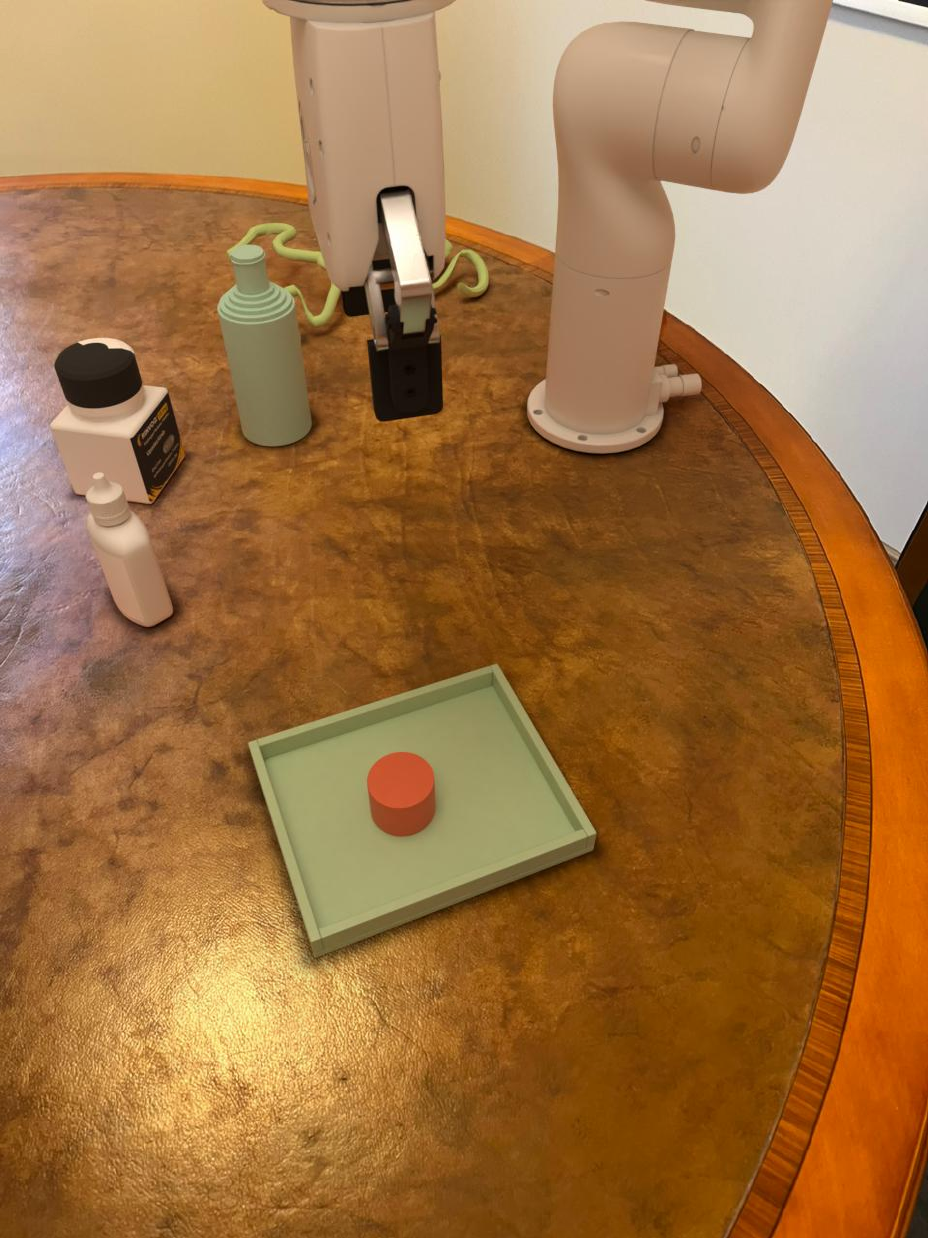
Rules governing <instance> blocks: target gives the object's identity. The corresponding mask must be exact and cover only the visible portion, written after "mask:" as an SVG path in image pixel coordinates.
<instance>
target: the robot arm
mask: <svg viewBox="0 0 928 1238" xmlns="http://www.w3.org/2000/svg"><path fill="white" fill-rule="evenodd" d="M261 1H262V4H263V5H264V6H265V7H266V8H268V9H269V10H273V11H274V12H276V13H277V14H279V15H283V16H286V17H289V25H290V27H289V28H290V41H291V52H292V53H291V54H292V65H293V74H294V84H295V93H296V100H297V101H296V102H297V111H298V117H299V126H300V135H301V145H302V151H303V161H304V171H305V182H306V193H307V201H308V208H309V212H310V217H311V222H312V225H313V229H314V233H315V236H316V240H317V244H318V247H319V250H320V251H321V254H322V257H323V260H324V264H325V267H326V270H327V271H326V270H325V271H326V273H327V276H328V278H329V281H330V283H331V282H332V283H333V284H334V285H335V286H336V287H337V288H339V289H340V290H341V293H340V297H341V307H342V310H343V312H344V315H345V316H347V317H350V318H353V317H362V316H369V319H370V326H371V332H372V338H371V339H366V346H367V355H368V366H369V376H370V386H371V387H370V388H371V397H372V407H373V413H374V416H375V419H376V420H377V421H379V422H381V423H382V422H383V423H386V422H391V421H392V422H393V421H397V420H398V421H399V420H405V419H412V418H418V417H426V416H433V415H437V414H439V413H441V412H442V411H443V409H444V389H443V388H444V387H443V358H442V357H443V355H442V353H443V352H442V335H441V331H440V323H439V318H438V317H439V316H438V311H437V304H436V298H435V293H434V292H435V291H433V285H432V284H433V281H435V280H436V279H437V278H438V277H439V276H440V274H441V273H442V272H443V270H444V268H445V263H446V258H445V243H446V239H447V236H446V232H447V231H446V227H447V226H446V223H447V222H446V185H445V183H446V182H445V161H444V159H445V158H444V136H443V135H444V134H443V116H442V113H443V112H442V100H441V99H442V98H441V80H442V79H441V78H442V73H441V70H440V66H439V52H438V37H437V22H436V20H437V19H436V12H437V11H440V10H442V9H444V8H446V7H449V6H451V5H452V4H453V3H455V2H456V1H457V0H261ZM645 1H646V2H651V3H656V4H662V5H668V6H674V7H675V6H676V7H681V8H691V9H698V10H699V9H700V10H707V11H715V12H724V13H731V14H740V15H744V16H746V17H747V18H749V19H750V20H751V22H752V24H753V28H752V34H751V37H749V36H739V35H734V34H726V33H725V34H724V33H717V32H709V31H702V30H695V29H693V28H686V27H678V26H671V25H663V24H655V23H647V22H638V21H611V22H603V23H598V24H596V25H593V26H591V27H588V28H587V29H585V30H583V31H581V32H580V33H578V35H576V36H575V37H574V38H573V39H572V40H570V42H569V43H568V44H567V46H566V48H565V49H564V50H563V53H562V55H561V56H560V60H559V62H558V64H557V66H556V72H555V76H554V81H553V91H552V117H553V119H552V120H553V128H554V138H555V148H556V149H555V150H556V161H557V182H558V183H557V184H558V187H557V188H558V189H557V216H556V217H557V219H556V234H555V246H554V247H555V248H554V251H555V252H554V264H553V276H552V277H553V278H552V289H551V290H552V291H551V305H550V317H549V318H550V319H549V333H548V343H547V344H548V345H547V360H546V374H545V378H544V379H543V380H542V381H540V382H539V383H537V384H536V385H535V386H534V387H533V389H531V391H530V393H529V395H528V397H527V403H526V417H527V419H528V421H529V424H530V425H531V426H532V428H533V429H534V431H536V432H537V433H538V434H539V435H540V436H541V437H542V438H544V439H545V440H547V441H549V442H551V443H552V444H553V445H557V446H559V447H562V448H564V449H567V450H571V451H575V452H581V453H586V454H587V453H588V454H600V455H601V454H602V455H603V454H616V453H621V452H626V451H631V450H632V449H633V450H634V449H636V448H638V447H641V446H642V445H644V444H646V443H648V442H649V441H651V440H652V439H653V438H654V437H655V436H657V434H658V433H659V431H660V429H661V427H662V424H663V420H664V414H665V413H664V412H665V409H664V405H663V403H668V401H669V399H670V398H676V397H679V398H681V397H688V396H698V395H700V394H701V392H702V388H703V387H702V385H703V384H702V383H703V382H702V378H701V376H700V374H699V373H697V372H696V373H688V374H680V375H678V374H679V369H678V365H677V364H675V363H671V364H663V365H661V366H655V364H656V359H657V352H658V346H659V341H660V334H661V330H662V329H661V328H662V323H663V317H664V311H665V304H666V299H667V293H668V288H669V286H668V285H669V281H670V275H671V268H672V262H673V256H674V250H675V244H676V224H675V217H674V213H673V210H672V206H671V203H670V200H669V198H668V196H667V193H666V191H665V189H664V186H663V184H662V182H667V183H672V184H679V185H682V186H687V187H688V186H689V187H695V188H700V189H705V190H711V191H718V192H721V193H722V192H723V193H729V194H737V195H745V194H753V193H758V192H760V191H762V190H765V189H766V188H767V187H768V186H770V185H771V184H772V183H773V182H774V181H775V180H776V178H777V177H778V175H779V174H780V172H781V170H782V168H783V167H784V165H785V163H786V160H787V158H788V156H789V154H790V150H791V147H792V145H793V142H794V140H795V136H796V132H797V130H798V126H799V122H800V119H801V116H802V113H803V109H804V105H805V102H806V98H807V96H808V95H807V94H808V91H809V87H810V84H811V80H812V77H813V73H814V69H815V66H816V62H817V59H818V56H819V52H820V48H821V45H822V41H823V38H824V34H825V30H826V28H827V24H828V20H829V17H830V15H831V14H830V13H831V11H832V7H833V3H834V0H645Z"/></svg>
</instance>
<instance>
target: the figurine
mask: <svg viewBox="0 0 928 1238" xmlns="http://www.w3.org/2000/svg"><path fill="white" fill-rule="evenodd" d="M267 235H276V236H275V237H274V238H273V240H272V242H271V243H272V244H271V246H272V248H273V251H274V252H275V254H276V255H277V256H278V257H279V258H282V259H286V260H289V261H297V262H305V263H313V264H317V265H318V266H319V267H320V268H321V269H323V270H324V271H326V272H327V270H326V267H325V264H324V260H323V257H322V254H321V250H320V251H319V250H318V251H313V250H306V249H300V248H299V249H298V248H291V247H287V246H284V245H286V244H287V243H289V242H291V241H293V240H295V239H296V238H297V235H298V232H297V229H296V228H295V227H294V226H293V225H290V224H288V223H285V222H284V223H282V222H271V223H269V222H267V223H261V224H258V225H255V226H252V227H250V229H249V230H247V233H246V234H245V235H244V236H243V237H242V238H241V239H240V240H239V241H238V242H237V243H236V244H235V245H233V246H232V247H230V248H229V249H227V250H226V251H225V257H226V260H227V262H229V263H231V257H230V252H231V251H232V250H233V249H234V248H236V247H238V246H242V245H253V243H254V242H255V240H256V239H257V238H260V237H264V236H267ZM453 250H454V246H453V245H452V243H451V242H450V241H449V240H448V239H447V238H446V243H445V259H446V258H447V257H448V256H449V255H450V254H451V253H452V251H453ZM458 258H465V259H466V260H467V261H469V262H470V263H471V264H472V265H473V266H474V268H475V270H476V272H477V277H478V278H477V279H478V281H477V285H476V286H474V287H471V286H468V285H466V284H465V283H463V282H461V281H460V282H458V283H457V285H456V287H457V290H458V291H459V292H460V293H461V294H462V295H464V296H465V297H468V298H478V297H480V296H482V295H483V294H484V293H485V292H486V291H487V289H488V288H489V283H490V281H489V280H490V279H489V271H488V267H487V264H486V263H485V260H483V258H482V257H481V256H480V255H479V254H478V253H477V252H476V251H474V250H472V249H462V250H461V251H459V252H458V253H457V254H455V256H453V258H452V259H451V261H450V262H449V264H448V266H447V267H446V269H445V271H444V273H442V275H441V276H440V277H439V279H437V281H436V282H434V283H432V285H433V292H435V291H436V290H439V288H441V287H442V286H443V284H444V283H446V282H447V280H448V279H449V278H450V276H451V274H452V272H453V271H454V268H455V266H456V263H457V262H458V261H457V260H458ZM283 288H284V289H286V290H287V291H288V292H289V293H290V294H291V295H292V296H293V297H297V296H298V297H299V299H300V301H301V302H302V306H303V311H304V314H305V317H306V321H307V322H308V323H309V324H311V325H312V326H313V327H314V328H315V329H318V328H321V327H325V326H327V325H328V323H329V322H330V321H331V319H332V318H333V316H334V313H335V311H336V308H337V305H338V301H339V298H340V297H341V290H340V289H339V288H337V287H336V286H335V285H334V284H333V283H332V282H331V281H330V288H329V291H328V294H327V297H326V300H325V303H324V307H323V309H322V311H321V313H320V314H318V315H313V314H312V312H311V311H310V310H309V309H308V306H307V303H306V301H305V298H304V297H303V294H302V292H301V290H300V289H299V288H298V287H297V286H296V285H295V284H291V285H287V286H285V287H283ZM299 334H300V341H301V340H302V336H301V332H300V331H299Z"/></svg>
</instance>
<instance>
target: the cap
mask: <svg viewBox="0 0 928 1238" xmlns="http://www.w3.org/2000/svg"><path fill="white" fill-rule="evenodd" d="M367 787H368V795H369V802H370V810H371V816H372V819H373V821H374V823H375V824H376V825H377V827H378V828H380V829H381V830H382V831H384V832H385V833H387V834H390V835H393V836H410V835H414V834H416V833H418V832H420V831H422V830H423V829H425V828H426V827H427V826H428V825H429V824H430V822H431V821H432V819H433V817H434V814H435V782H434V773H433V770H432V768H431V766H430V765H429V763H428V762H427V761H426V760H425V759H423V758H422V757H420V756H418V755H416V754H413V753H409V752H395V753H391V754H388V755H386V756H384V757H382V758H380V759H379V760H378V761H377V762H376V763H375V764H374V765H373V766H372V767H371V769H370V771H369V773H368V777H367Z"/></svg>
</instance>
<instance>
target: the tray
mask: <svg viewBox="0 0 928 1238" xmlns="http://www.w3.org/2000/svg"><path fill="white" fill-rule="evenodd" d="M247 745H248V749H249V752H250V756H251V759H252V760H251V761H252V763H253V765H254V766H253V767H254V769H255V773H256V775H257V779H258V782H259V784H260V788H261V792H262V794H263V798H264V801H265V804H266V807H267V810H268V811H267V812H268V814H269V818H270V820H271V823H272V826H273V830H274V833H275V837H276V840H277V843H278V846H279V849H280V853H281V855H282V860H283V861H284V865H285V868H286V871H287V875H288V877H289V880H290V881H289V882H290V884H291V887H292V891H293V892H294V897H295V900H296V903H297V906H298V909H299V912H300V913H299V914H300V916H301V919H302V922H303V926H304V930H305V932H306V935H307V939H308V942H309V945H310V948H311V952H312V954H313V957H314V958H315V959H316V958H320V957H322V956H324V955H326V954H329V953H332V952H335V951H337V950H340V949H342V948H345V947H348V946H350V945H353V944H355V943H358V942H360V941H363V940H365V939H369V938H371V937H373V936H376V935H378V934H381V933H383V932H386V931H389V930H392V929H395V928H397V927H399V926H402V925H404V924H406V923H410V922H412V921H414V920H417V919H420V918H423V917H425V916H427V915H431V914H433V913H435V912H439V911H440V910H442V909H446V908H448V907H451V906H453V905H456V904H459V903H461V902H463V901H466V900H469V899H472V898H474V897H476V896H480V895H481V894H484V893H487V892H489V891H492V890H495V889H497V888H501V887H502V886H505V885H507V884H510V883H512V882H515V881H517V880H521V879H524V878H525V877H528V876H530V875H533V874H536V873H539V872H541V871H544V870H547V869H549V868H551V867H554V866H556V865H560V864H562V863H564V862H567V861H570V860H572V859H576V858H577V857H580V856H582V855H585V854H587V853H590V852H593V851H594V849H595V843H596V838H597V831H596V829H595V828H594V826H593V824H592V823H591V820H590V819H589V818H588V815H587V814H586V812H585V810H584V808H583V807H582V805H581V804H580V802H579V800H578V798H577V797H576V795H575V793H574V792H573V790H572V788H571V787H570V785H569V783H568V782H567V780H566V778H565V776H564V775H563V773H562V771H561V770H560V767H559V766H558V764H557V763H556V761H555V759H554V758H553V756H552V754H551V752H550V751H549V749H548V748H547V745H546V744H545V741H543V739H542V737H541V735H540V734H539V732H538V730H537V728H536V727H535V725H534V724H533V722H532V720H531V719H530V717H529V715H528V713H527V711H526V710H525V708H524V706H523V705H522V703H521V701H520V699H519V698H518V696H517V694H516V693H515V691H514V689H513V687H512V686H511V684H510V682H509V680H508V679H507V678H506V676H505V674H504V672H503V670H502V669H501V667H500V665H499V664H498V663H494V664H490V665H487V666H484V667H481V668H478V669H474V670H471V671H469V672H465V673H461V674H458V675H456V676H452V677H450V678H446V679H442V680H440V681H437V682H433V683H431V684H427V685H424V686H421V687H417V688H415V689H411V690H409V691H405V692H402V693H398V694H396V695H393V696H389V697H386V698H383V699H380V700H377V701H373V702H370V703H367V704H364V705H361V706H357V707H354V708H351V709H348V710H345V711H342V712H339V713H335V714H332V715H329V716H326V717H323V718H320V719H316V720H313V721H311V722H306V723H303V724H301V725H298V726H294V727H291V728H288V729H285V730H281V731H278V732H276V733H272V734H269V735H266V736H262V737H260V738H257V739H254V740H251V741H248V742H247ZM395 752H409V753H413V754H416V755H418V756H420V757H422V758H423V759H425V760H426V761H427V762H428V763H429V765H430V766H431V768H432V770H433V773H434V782H435V814H434V817H433V819H432V821H431V822H430V824H429V825H428V826H427V827H426V828H425V829H423V830H422V831H420V832H418V833H416V834H414V835H410V836H393V835H390V834H387V833H385V832H384V831H382V830H381V829H380V828H378V827H377V825H376V824H375V823H374V821H373V819H372V816H371V810H370V802H369V795H368V787H367V777H368V773H369V771H370V769H371V767H372V766H373V765H374V764H375V763H376V762H377V761H378V760H379V759H380V758H382V757H384V756H386V755H388V754H391V753H395Z"/></svg>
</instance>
